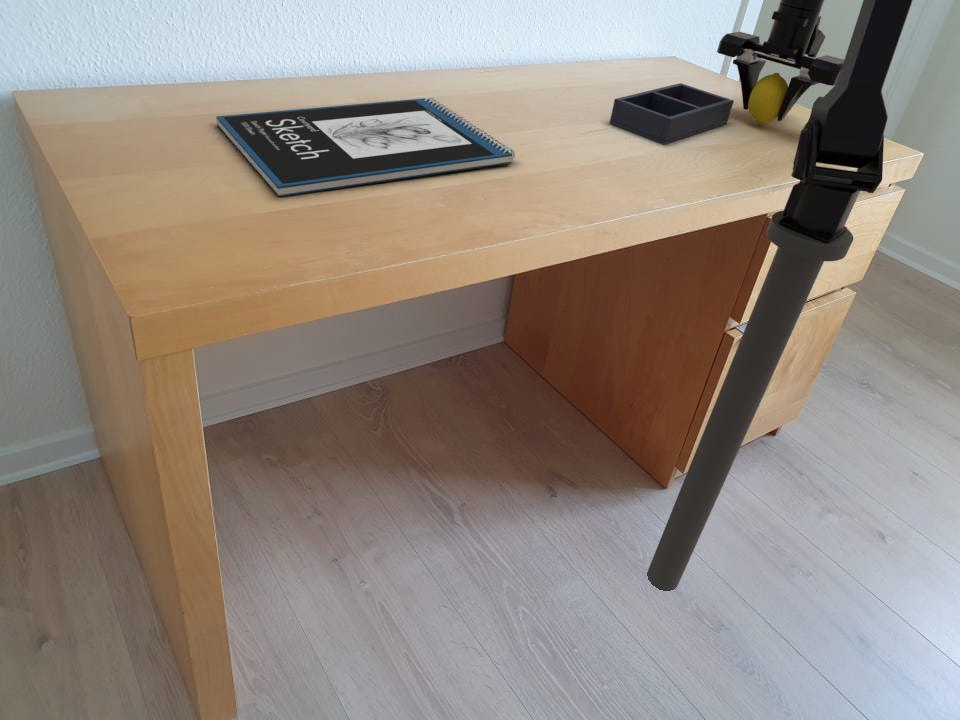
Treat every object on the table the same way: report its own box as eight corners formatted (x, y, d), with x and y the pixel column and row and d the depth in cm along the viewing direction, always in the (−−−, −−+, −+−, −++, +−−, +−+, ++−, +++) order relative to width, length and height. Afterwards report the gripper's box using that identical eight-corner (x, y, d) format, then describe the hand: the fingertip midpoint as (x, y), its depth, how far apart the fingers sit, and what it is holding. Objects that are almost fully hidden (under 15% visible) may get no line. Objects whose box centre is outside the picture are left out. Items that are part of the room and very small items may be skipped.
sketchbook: (216, 127, 87) (215, 110, 86) (432, 109, 102) (433, 94, 100) (278, 198, 73) (277, 178, 72) (517, 165, 88) (520, 148, 86)
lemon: (769, 121, 115) (787, 69, 111) (782, 132, 111) (801, 79, 106) (736, 117, 115) (753, 65, 110) (748, 129, 110) (766, 75, 106)
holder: (726, 123, 112) (734, 100, 109) (664, 144, 100) (671, 119, 98) (674, 105, 116) (680, 82, 114) (609, 123, 105) (614, 98, 103)
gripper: (884, 17, 103) (840, 125, 112) (765, -10, 113) (733, 91, 122) (856, 23, 96) (811, 137, 105) (732, -7, 106) (701, 100, 115)
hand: (762, 115), depth 112 cm, fingers closed on lemon, 5 cm apart
